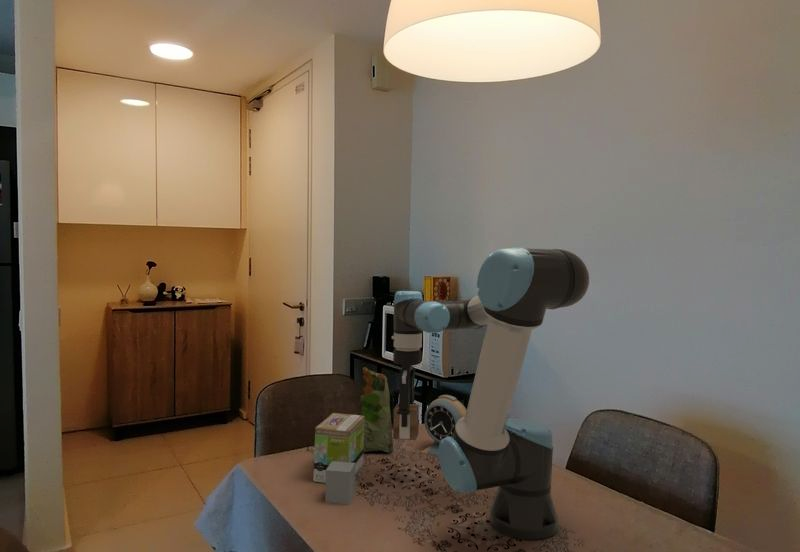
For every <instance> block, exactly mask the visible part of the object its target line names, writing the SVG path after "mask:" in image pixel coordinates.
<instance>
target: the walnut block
mask: <svg viewBox="0 0 800 552" xmlns="http://www.w3.org/2000/svg"><path fill="white" fill-rule="evenodd" d="M419 407H420V404H418V403H417V404H410V409H409V411H410V413H409V414H410V439H399V423H400V414H397V412H398V410H399V402H398V403H396V405H394V408H393V431H392V439H393V440H400V441H401V440H402V441H403V440H405V441H417V438H418V436H419V426H420V425H419V420H420V418H419V417H420V415H419V414H420V408H419Z"/></svg>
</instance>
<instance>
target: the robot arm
mask: <svg viewBox="0 0 800 552" xmlns="http://www.w3.org/2000/svg"><path fill="white" fill-rule="evenodd" d="M482 262H483V263H482V264H481V266H480V269H479V271H478V274H477V281H476V288H477V289H478V291H477V295H475V296H474V297H471V298H468V299H464V300H463V299H461V300H423V294H422V292H420V291H418V290H400V291H399V290H398V291H396V292H395V293H394V299H393V300H394V302H393V335H392V336H391V340H393V347H394V349H393V351H392V352H393V353H392V354H393V357H392V358H393V360H392V362H393V363H394V364H396V365H397V366H398V365H400V366H401V367H400V369H399V370H398V379H399V380H398V381H399V382H398V385H399V388H398V389H399V391H398V392H399V393H398V403H399V410H398V412H397V414H400V423H399V439H398V440H401V439H410V414H409V413H410V411H409V409H410V404H416V402H415V375H416V370H415V369H416V368H415V366H417V365H421V363H422V350H421V348H422V347H423V344H422V343H423V342H422V341H423V332H425V333H429V334H430V333H433V334H434V333H435V334H436V333H441V332H442V331H454V330H479V329H485V328H486V329H485V333H484V336H483V337H484V338H483V341H482V342H483V343H482V347H481V350H480V355H479V359H478V362H477V367H476V370H475V375H474V379H473V383H472V386H471V391H470V396H469V398H468V403H467V408H466V410H467V411H466V415H465V417H463V418H461V419H459V420H458V421H457V423H456V426H455V430H454V434H453V436H452V437H450V436H447V437H446V438H444V439H442V440H441V442H440V444H439V449H438V456H439V458H438V462H439V467H440V470H441V473H442V476H443V478H444V479H445V481H446V483H447V484H448V486H449V487H450V488H451V489H452V490H453V491H454V492H456V493H459V494H464V493H476V492H479V491H484V490H488V489H493V488H497V491H496V493H495V495H494V498H493V501H492V504H491V506H490V510H489V522H490V525H491V526H492V527H493V528H494V529H495V530H496V531H498V532H500V533H501V534H503V535H506V536H509V537H511V538H512V537H513V538H515V539H520V540H521V539H522V540H530V541H532V540H533V541H535V540H544V539H547V538H550V537H552V536H554V535H556V533H557V531H558V529H559V528H558V527H559V526H558V525H559V518H558V514H557V513H558V512H557V510H556V507H555V503H554V499H553V496H552V474H553V472H552V470H553V468H552V467H553V454H554V446H553V433H552V430H550V428H548V427H547V426H545V425H543V424H540V423H538V422H534V421H530V420H526V419H519V418H509V415H510V411H511V408H512V405H513V402H514V398H515V394H516V389H517V386H518V384H519V383H518V382H519V380H520V379H519V378H520V375H521V371H522V368H523V364H524V360H525V357H526V353H527V349H528V346H529V341H530V339H531V334H532V332H533V330H535V329H537V328H539V327H541V326H542V324H543V322H544V318H545V314H546V311H547V310H555V309H561V308H568V307H570V306H573V305H575V304H577V303H578V302H579V301H581V300H582V299H583V298H584V297H585V295H586V293H587V292H588V289H589V285H590V273H589V271H588V267H587V266H586V263H585V262H584V261H583V259H581V257H579V256H578V255H576V253H574V252H571V251H569V250H565V249H559V248H552V249H551V248H548V249H547V248H530V247H529V248H526V247H525V248H524V247H520V246H517V247H516V246H515V247H509V248H499V249H497V250H494V252H492V253H490V254H489V255H488V256H487V257H486V258H485V259H484V260H483V261H482Z"/></svg>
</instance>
